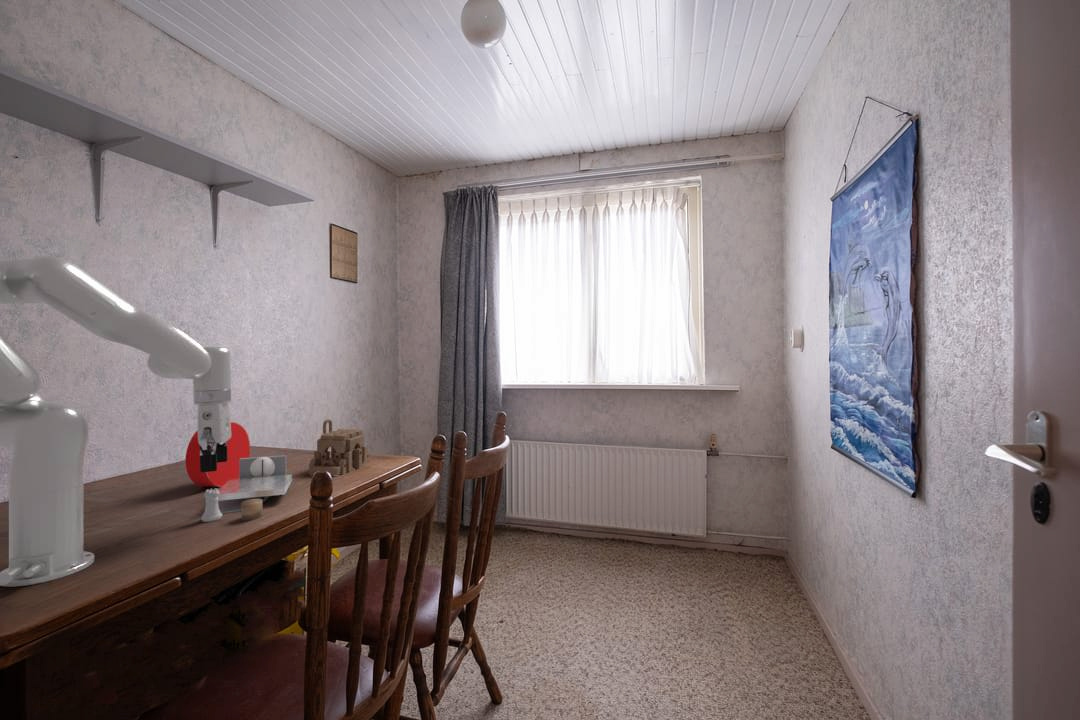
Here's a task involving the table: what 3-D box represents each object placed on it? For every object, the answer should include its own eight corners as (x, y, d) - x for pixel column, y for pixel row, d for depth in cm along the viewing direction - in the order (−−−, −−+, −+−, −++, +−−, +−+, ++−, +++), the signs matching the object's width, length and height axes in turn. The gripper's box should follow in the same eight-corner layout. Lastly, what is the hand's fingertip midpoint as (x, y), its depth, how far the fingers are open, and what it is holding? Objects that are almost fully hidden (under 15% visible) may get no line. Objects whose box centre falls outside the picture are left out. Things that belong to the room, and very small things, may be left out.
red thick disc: (233, 477, 155) (233, 418, 155) (250, 477, 155) (250, 418, 155) (185, 494, 135) (185, 426, 135) (204, 495, 135) (204, 427, 135)
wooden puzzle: (343, 481, 151) (343, 424, 151) (301, 479, 153) (301, 423, 153) (374, 465, 173) (374, 416, 173) (338, 464, 175) (338, 415, 175)
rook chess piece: (211, 526, 110) (211, 492, 110) (195, 525, 111) (195, 491, 111) (227, 520, 114) (227, 487, 114) (212, 518, 115) (212, 486, 115)
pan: (284, 504, 124) (284, 488, 124) (213, 511, 118) (213, 494, 118) (292, 488, 139) (292, 474, 139) (229, 494, 133) (229, 479, 133)
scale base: (292, 509, 123) (292, 468, 123) (202, 518, 115) (202, 475, 115) (300, 488, 142) (300, 453, 142) (224, 495, 135) (224, 458, 135)
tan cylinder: (260, 523, 112) (260, 503, 112) (239, 526, 110) (239, 505, 110) (263, 517, 116) (264, 497, 116) (243, 520, 114) (243, 499, 114)
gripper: (221, 400, 106) (223, 473, 107) (238, 393, 122) (240, 457, 123) (181, 401, 103) (184, 477, 104) (205, 394, 119) (206, 460, 120)
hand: (214, 466), depth 113 cm, fingers open, 9 cm apart
